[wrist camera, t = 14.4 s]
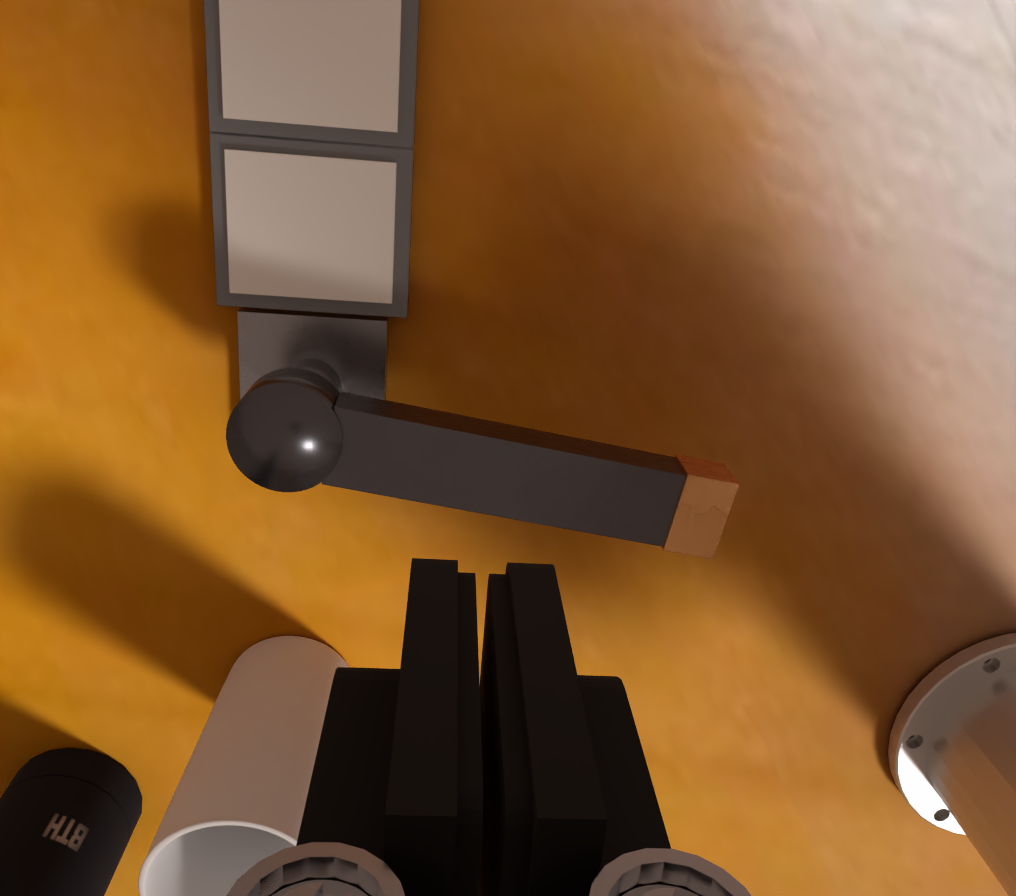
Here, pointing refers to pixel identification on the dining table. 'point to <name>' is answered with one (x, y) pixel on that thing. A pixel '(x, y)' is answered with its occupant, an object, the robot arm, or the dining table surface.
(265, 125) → the label tile
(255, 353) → the pivot post base
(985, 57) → the dining table surface
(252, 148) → the label tile
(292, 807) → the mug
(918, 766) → the robot arm
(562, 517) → the swing arm
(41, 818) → the black bottle
